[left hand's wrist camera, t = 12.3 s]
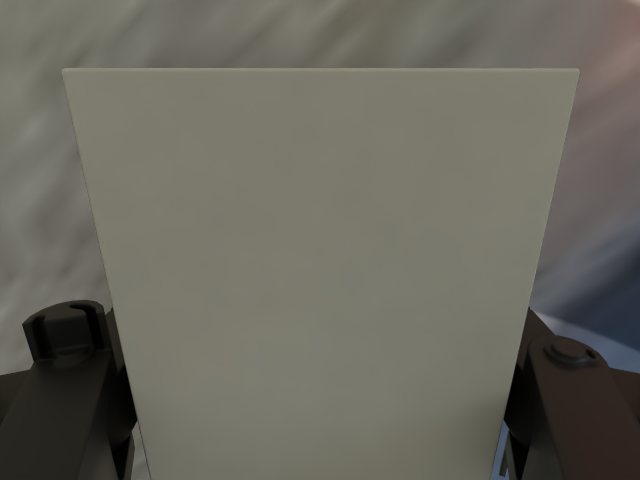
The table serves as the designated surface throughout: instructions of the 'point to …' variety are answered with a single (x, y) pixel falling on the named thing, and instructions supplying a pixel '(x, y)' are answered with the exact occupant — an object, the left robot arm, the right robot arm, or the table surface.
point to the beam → (320, 259)
